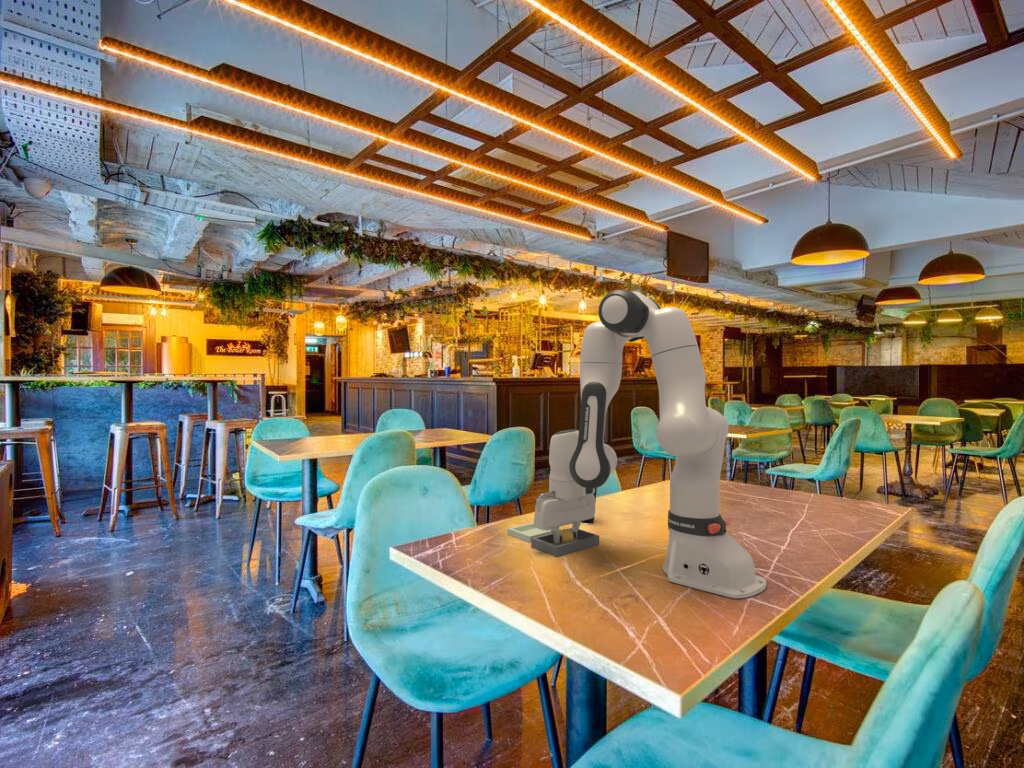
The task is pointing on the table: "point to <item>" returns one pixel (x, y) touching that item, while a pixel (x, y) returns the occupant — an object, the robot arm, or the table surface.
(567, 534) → the ball
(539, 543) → the dish
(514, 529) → the tray
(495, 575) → the table surface
